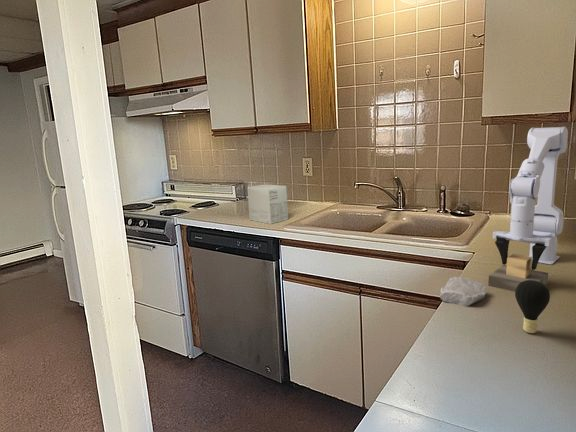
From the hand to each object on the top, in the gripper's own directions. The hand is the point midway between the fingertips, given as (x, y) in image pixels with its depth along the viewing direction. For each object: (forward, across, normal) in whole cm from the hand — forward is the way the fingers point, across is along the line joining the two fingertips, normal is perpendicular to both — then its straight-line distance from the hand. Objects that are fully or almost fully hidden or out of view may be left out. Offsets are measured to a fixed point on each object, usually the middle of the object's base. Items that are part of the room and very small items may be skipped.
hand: (519, 266), depth 120 cm
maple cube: (+2, 0, 0) cm, 2 cm away
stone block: (+6, -8, -18) cm, 21 cm away
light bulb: (+6, +11, -28) cm, 31 cm away
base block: (+5, 0, 0) cm, 5 cm away
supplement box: (+6, -127, +18) cm, 128 cm away
